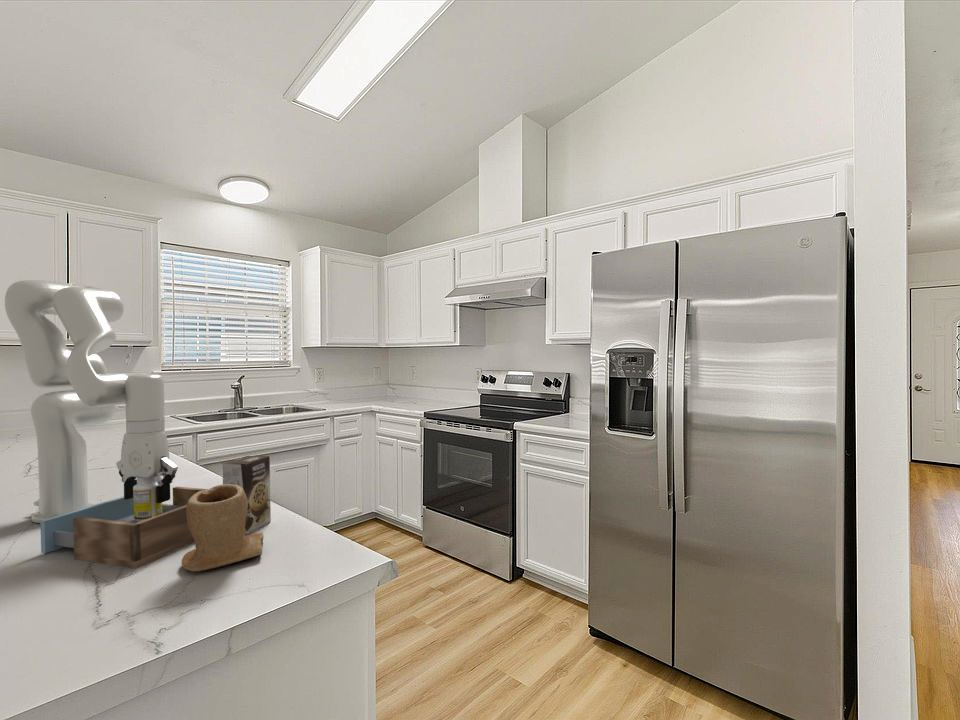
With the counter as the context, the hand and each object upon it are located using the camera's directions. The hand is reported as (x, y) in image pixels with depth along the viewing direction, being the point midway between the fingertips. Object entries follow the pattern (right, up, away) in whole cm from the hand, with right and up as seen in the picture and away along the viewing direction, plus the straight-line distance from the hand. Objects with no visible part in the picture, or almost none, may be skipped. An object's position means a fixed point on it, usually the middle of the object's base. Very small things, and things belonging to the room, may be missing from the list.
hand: (147, 499), depth 118 cm
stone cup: (+28, -7, -19) cm, 35 cm away
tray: (-1, -7, -5) cm, 8 cm away
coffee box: (+24, -7, 0) cm, 25 cm away
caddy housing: (+8, -7, -8) cm, 13 cm away
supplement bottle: (0, -5, 0) cm, 5 cm away
